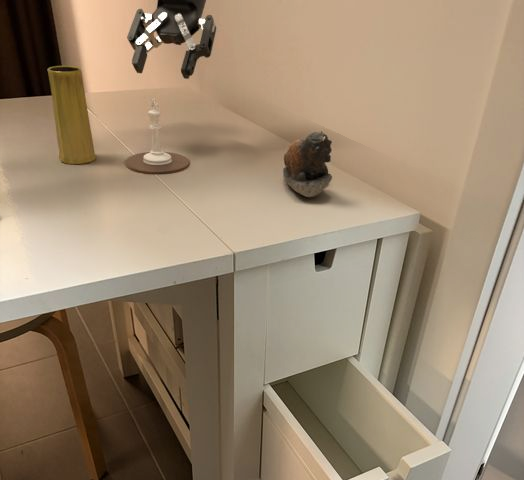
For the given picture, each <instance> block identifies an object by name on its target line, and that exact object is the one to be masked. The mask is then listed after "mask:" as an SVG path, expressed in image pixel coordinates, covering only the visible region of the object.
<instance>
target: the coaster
mask: <svg viewBox="0 0 524 480" xmlns="http://www.w3.org/2000/svg"><path fill="white" fill-rule="evenodd" d="M147 153H151V152H150V151H146V152H145V151H144V152H140V153H136V154H133V155H130V156H128V157H127V158H125V161H124V164H125V167H126V168H127V169H129V170H131V171H133V172H136V173H140V174H146V175H147V174H148V175H166V174H174V173H178V172H180V171H183V170H185V169H187V168H188V167H189V166H190V158H188V157H187V156H185V155H183V154H180V153H176V152H170V151H164V153H167V154H169V155H171V159H172V162H171V163H169V164H165V165H150V164H146V163H144V161H143V160H144V158H143V157H144V155H145V154H147Z"/></svg>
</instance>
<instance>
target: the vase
mask: <svg viewBox="0 0 524 480" xmlns="http://www.w3.org/2000/svg"><path fill="white" fill-rule="evenodd" d="M47 73H48V74H47V75H48V81H49V86H50V92H51V101H52V109H53V117H54V122H55V132H56V140H57V147H58V152H59V155H58V156H59V160H60V162H62V163H64V164H68V165H83V164H84V165H85V164H88V163H92V162H94V161H95V160H96V159H97V155H96V152H95V147H94V141H93V134H92V129H91V124H90V122H91V121H90V117H89V112H88V111H89V110H88V104H87V99H86V93H85V86H84V79H83V72H82V69H81V67H79V66H76V65H75V66H74V65H55V66H50V67H48V68H47Z"/></svg>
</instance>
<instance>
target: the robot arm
mask: <svg viewBox="0 0 524 480" xmlns="http://www.w3.org/2000/svg"><path fill="white" fill-rule="evenodd" d="M206 2H207V0H157V3H156V8H155V10H154V12H153V13H152V14H151V13H145V11H144V10H143V8H138V9H137V10H136V12H135V15H134V17H133V20H132V22H131V25H130V28H129V31H128V34H127V35H126V39H127V41H128V42H129V45H130V46H131V48H132V49H133V50H134V52H133V56H132V59H131V65H132V66H133V68H134V70H135V71H136V73H137V74H143V72H144V69H145V66H146V62H147V59H148V53H149V52H150V51H152V50H153V49H154V48H155V49H157V48H159V47H160V46H161V45H162V44H164V45H170V44H171V45H172V44H174V45H177V46H182V44H184V43H185V44H186V46H187V49H188V50H186V51H185V53H184V57H183V61H182V64H181V67H180V74H181V76H182V77H183V79H185V80H189V79H190V78H191V77H192V76H193V75H194V73H195V70H196V65H197V63H198V60H199V59H200V58H203V57H204V58H205V59H208V58H210V57H211V55H212V51H213V47H214V41H215V36H216V33H217V26H216V23H215V20H214V17H213V15H212V14H207V15H206V16H205V17H204V18H202V16H203V13H204V9H205V6H206ZM200 30H201V37H200V41H199V43H198V44H196V43H195V41H194V39H193V36H194V35H195V34H196V33H197V32H198V31H200ZM155 32H156V34H157V36H156V37H155Z"/></svg>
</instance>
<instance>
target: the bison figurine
mask: <svg viewBox="0 0 524 480" xmlns="http://www.w3.org/2000/svg"><path fill="white" fill-rule="evenodd" d="M332 143H333V141H332V140H331V139H329V136H328V135H327V134H326V133H324V132H323V131H322V130H321V131H314V132H312V133H310V134H309V135H308V136H306V137H305V139H301V138H300V139H297V140H295V141H292V143H291V144H290V145H289V147H288V149H287V150H286V151H285V153H284V155H283V163H284V167H282V173H283V176H282V177H283V180H284V181H285V182H286V184H287V185H288V186H289V187H290V188H291V189H292V190H293V191H295V192H296V193H298V194H300V195H301V196H303V197H306V198H312V197H316V196H317V195H320V194H321V193H322V192H323V191H324V190H325V189H326V188H328V187H329V185H330V183H331V181H332V179H333V175H332V174H330V173H329V169H328V166H327V165H326V163H331V158H332V157H331V155H330V154H331V153H332V151H333V150H332Z"/></svg>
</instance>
